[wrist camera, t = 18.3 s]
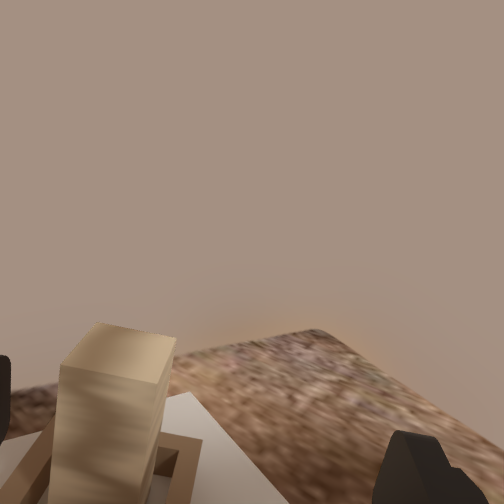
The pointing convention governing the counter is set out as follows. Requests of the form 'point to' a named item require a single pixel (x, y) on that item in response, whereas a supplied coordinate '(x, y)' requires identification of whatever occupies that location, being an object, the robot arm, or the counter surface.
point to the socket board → (213, 459)
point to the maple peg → (109, 416)
